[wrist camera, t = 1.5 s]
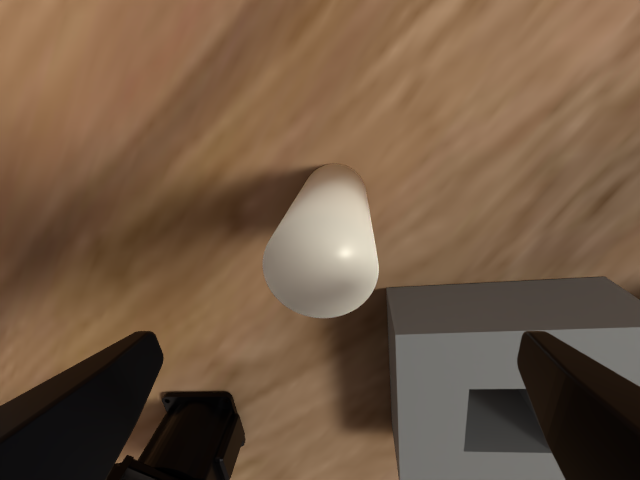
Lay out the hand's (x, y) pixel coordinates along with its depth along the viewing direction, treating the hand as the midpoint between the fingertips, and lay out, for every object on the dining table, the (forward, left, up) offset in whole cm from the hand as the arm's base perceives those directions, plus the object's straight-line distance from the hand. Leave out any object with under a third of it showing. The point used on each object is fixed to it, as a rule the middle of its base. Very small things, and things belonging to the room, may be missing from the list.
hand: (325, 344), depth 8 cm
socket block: (+10, -14, -13) cm, 21 cm away
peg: (0, 0, -13) cm, 13 cm away
